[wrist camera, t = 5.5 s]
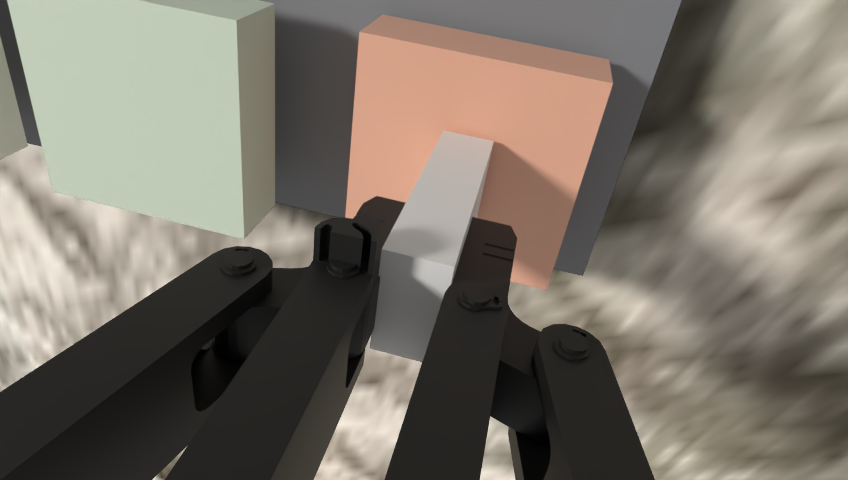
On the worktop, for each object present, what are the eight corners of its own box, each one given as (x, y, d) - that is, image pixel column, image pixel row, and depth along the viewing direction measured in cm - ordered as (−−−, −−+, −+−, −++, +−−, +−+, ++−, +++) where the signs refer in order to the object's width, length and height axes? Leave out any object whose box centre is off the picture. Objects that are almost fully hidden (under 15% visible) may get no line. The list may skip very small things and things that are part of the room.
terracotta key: (364, 207, 22) (343, 240, 20) (382, 14, 18) (359, 32, 16) (549, 251, 21) (546, 290, 19) (608, 59, 18) (612, 83, 16)
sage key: (99, 163, 22) (52, 191, 20) (62, -40, 18) (0, -29, 16) (275, 204, 21) (244, 239, 20) (274, 3, 18) (236, 20, 16)
